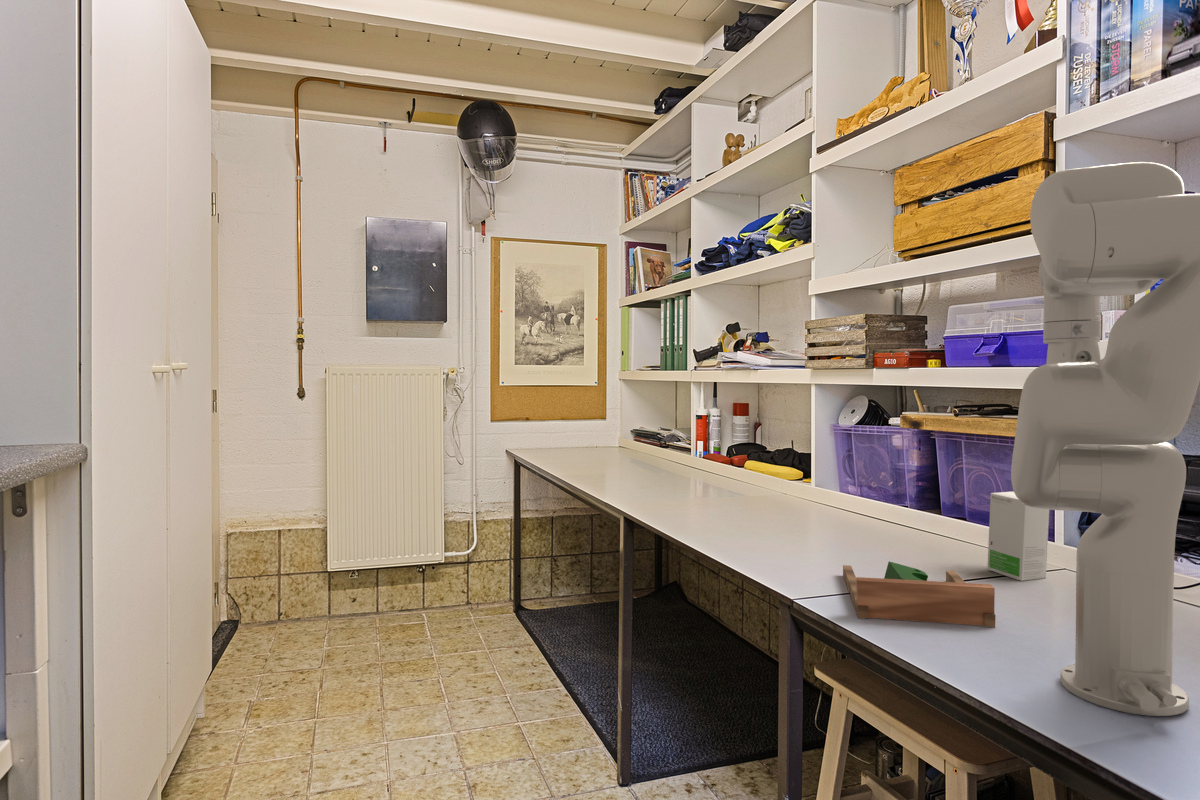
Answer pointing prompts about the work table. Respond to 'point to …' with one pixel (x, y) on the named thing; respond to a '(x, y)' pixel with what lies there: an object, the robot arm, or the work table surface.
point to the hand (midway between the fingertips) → (1069, 448)
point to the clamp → (904, 572)
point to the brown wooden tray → (922, 599)
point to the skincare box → (1017, 538)
